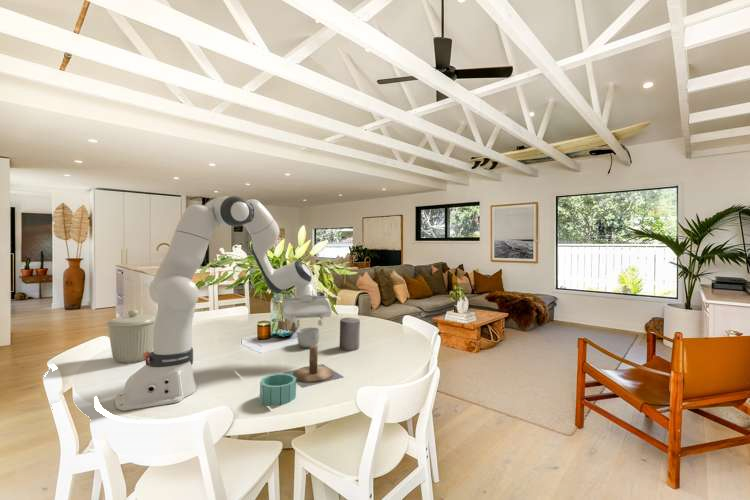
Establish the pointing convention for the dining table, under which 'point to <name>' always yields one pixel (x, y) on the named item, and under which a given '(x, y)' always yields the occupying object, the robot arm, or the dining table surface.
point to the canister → (131, 336)
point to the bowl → (277, 389)
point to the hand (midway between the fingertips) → (309, 325)
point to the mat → (305, 384)
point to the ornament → (288, 325)
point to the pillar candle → (349, 333)
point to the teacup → (308, 336)
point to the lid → (313, 369)
